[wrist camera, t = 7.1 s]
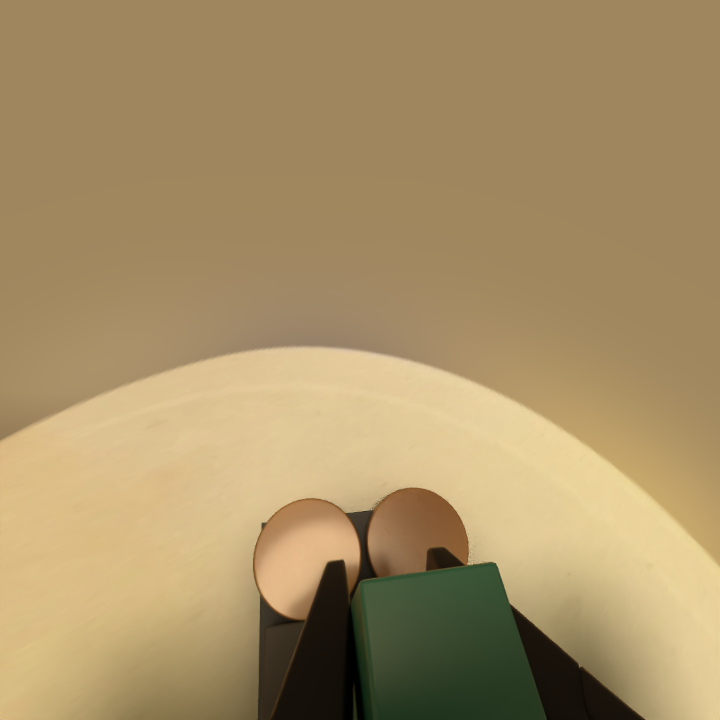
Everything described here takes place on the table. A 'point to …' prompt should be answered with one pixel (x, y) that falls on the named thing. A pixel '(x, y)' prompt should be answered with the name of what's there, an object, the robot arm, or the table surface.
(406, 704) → the wiper
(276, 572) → the crumb
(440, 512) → the crumb
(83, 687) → the table surface
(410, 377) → the table surface
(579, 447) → the table surface
